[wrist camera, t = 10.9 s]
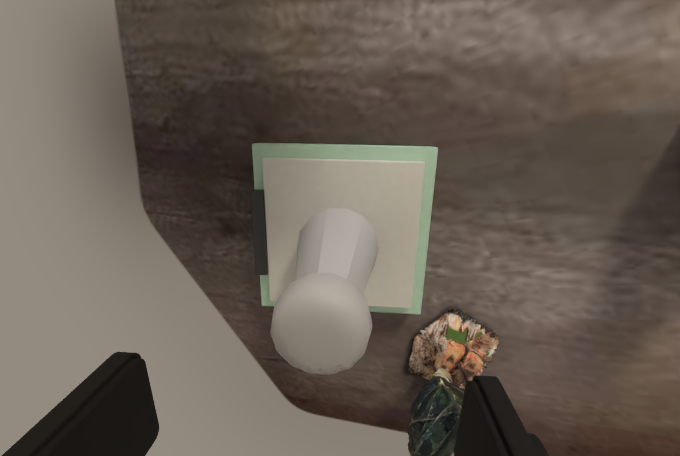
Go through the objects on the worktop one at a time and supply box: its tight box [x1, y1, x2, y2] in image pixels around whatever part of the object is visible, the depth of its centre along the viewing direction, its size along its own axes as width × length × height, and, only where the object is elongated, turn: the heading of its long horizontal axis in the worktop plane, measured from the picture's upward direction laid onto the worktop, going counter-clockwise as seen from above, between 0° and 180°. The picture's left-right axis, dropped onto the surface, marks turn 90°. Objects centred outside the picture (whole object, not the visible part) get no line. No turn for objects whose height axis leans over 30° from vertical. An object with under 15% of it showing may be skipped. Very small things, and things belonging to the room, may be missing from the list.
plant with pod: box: [407, 309, 499, 456], centre depth 21 cm, size 8×11×20 cm
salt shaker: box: [270, 208, 379, 374], centre depth 19 cm, size 6×6×13 cm
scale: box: [250, 143, 438, 314], centre depth 26 cm, size 14×14×3 cm
